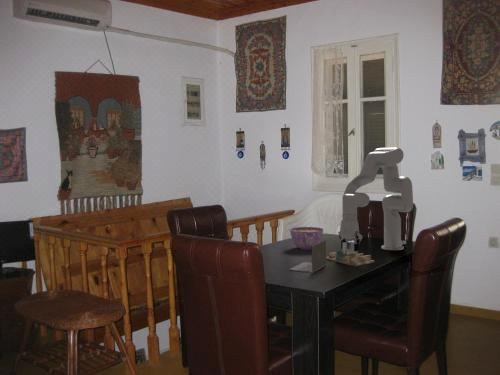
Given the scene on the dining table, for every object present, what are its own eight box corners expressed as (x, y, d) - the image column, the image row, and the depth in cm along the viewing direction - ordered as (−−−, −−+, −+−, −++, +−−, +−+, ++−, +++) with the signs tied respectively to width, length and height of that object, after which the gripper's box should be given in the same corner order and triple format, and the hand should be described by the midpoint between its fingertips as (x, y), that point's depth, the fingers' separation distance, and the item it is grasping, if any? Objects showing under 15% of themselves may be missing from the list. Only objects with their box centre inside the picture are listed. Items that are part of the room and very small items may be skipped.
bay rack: (345, 255, 281) (345, 244, 280) (374, 262, 262) (374, 251, 262) (325, 258, 274) (325, 247, 273) (354, 266, 255) (354, 254, 254)
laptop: (303, 263, 265) (303, 238, 264) (326, 265, 259) (326, 240, 258) (289, 270, 249) (288, 244, 248) (312, 273, 243) (312, 246, 242)
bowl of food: (313, 253, 289) (312, 233, 289) (283, 249, 302) (283, 230, 301) (329, 247, 305) (329, 228, 304) (301, 244, 317) (301, 226, 317)
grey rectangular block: (342, 259, 267) (342, 242, 267) (353, 257, 271) (353, 240, 271) (346, 260, 265) (346, 243, 264) (357, 258, 269) (357, 241, 268)
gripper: (333, 216, 272) (333, 248, 273) (356, 219, 257) (356, 253, 258) (343, 215, 276) (344, 246, 277) (366, 218, 261) (367, 251, 262)
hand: (350, 249), depth 268 cm, fingers open, 9 cm apart
